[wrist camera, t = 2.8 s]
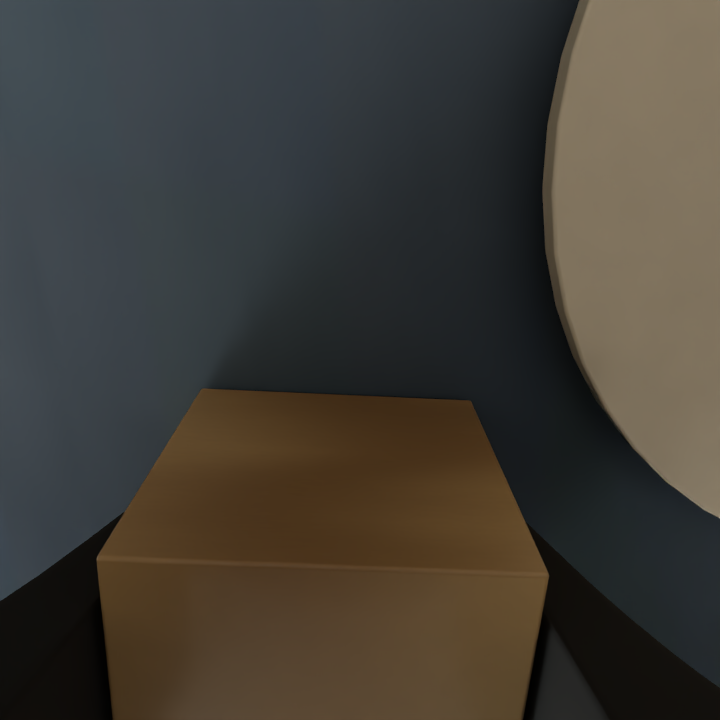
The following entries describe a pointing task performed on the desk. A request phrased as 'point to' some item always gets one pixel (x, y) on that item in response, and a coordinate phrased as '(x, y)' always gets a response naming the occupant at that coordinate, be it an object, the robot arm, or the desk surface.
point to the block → (322, 567)
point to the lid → (642, 226)
